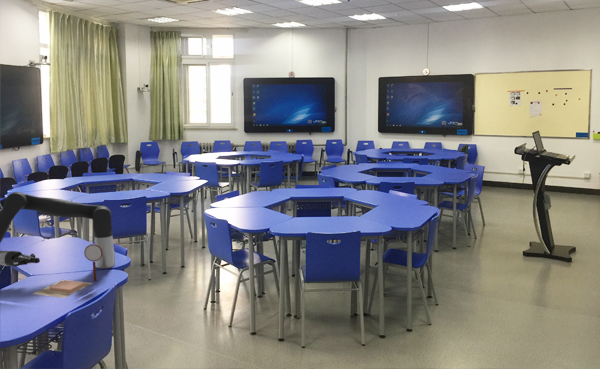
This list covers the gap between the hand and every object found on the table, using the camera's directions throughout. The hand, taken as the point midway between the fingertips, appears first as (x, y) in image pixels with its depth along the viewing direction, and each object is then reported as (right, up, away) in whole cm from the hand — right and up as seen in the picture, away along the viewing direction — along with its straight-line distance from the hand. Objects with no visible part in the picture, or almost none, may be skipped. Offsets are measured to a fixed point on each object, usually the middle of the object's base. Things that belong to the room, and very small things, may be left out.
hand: (38, 260), depth 255 cm
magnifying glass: (+25, -12, +7) cm, 29 cm away
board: (+14, -14, -3) cm, 20 cm away
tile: (+10, -12, -2) cm, 16 cm away
